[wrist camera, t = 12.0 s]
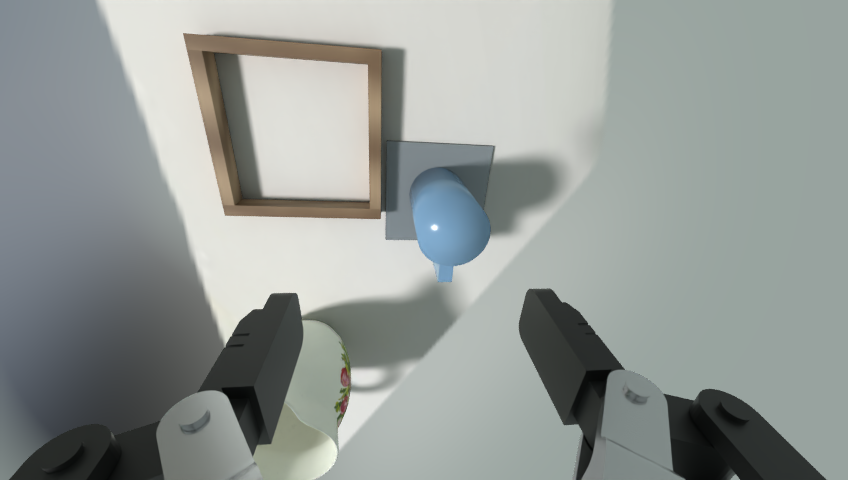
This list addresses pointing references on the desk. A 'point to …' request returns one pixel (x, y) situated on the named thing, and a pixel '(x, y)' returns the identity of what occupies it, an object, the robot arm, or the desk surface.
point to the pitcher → (310, 410)
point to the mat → (419, 157)
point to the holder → (219, 135)
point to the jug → (447, 220)
